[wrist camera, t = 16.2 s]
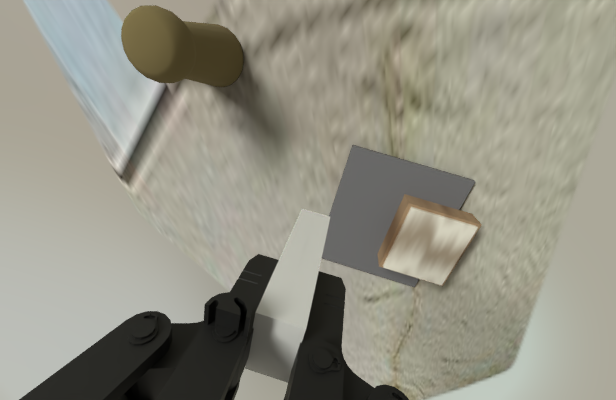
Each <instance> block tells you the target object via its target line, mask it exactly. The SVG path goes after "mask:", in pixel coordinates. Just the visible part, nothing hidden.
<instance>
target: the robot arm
mask: <svg viewBox="0 0 616 400" xmlns="http://www.w3.org/2000/svg"><path fill="white" fill-rule="evenodd" d="M329 221H330V216H326V215H323V214H319V213H316V212H312V211H309V210H305V209H301V212H300V214H299V216H298V218H297V220H296V223H295V225H294V227H293V229H292V232H291V234H290V236H289V238H288V241H287V243H286V245H285V247H284V250H283V252H282V254H281V256H280V259H279V260H277V259H273V258H270V257H267V256H263V255H260V254H258V255H257V256H255V257H254V258H252V259H251V260H249V262H248V263H247V265H246V266H245V268H244V270H243V271H242V273H241V275H240V276H239V279H238V280H237V281H236V283H235V285H234V286H233V288H232V290H231V291H230V292H228V293H221V294H218V295H216V296H214V297H212V298H211V299H210V300H209V301H208V302H207V303H206V304H205V311H204V321H201V322H198V323H189V324H187V323H186V324H185V323H184V324H182V323H180V324H179V323H175V324H174V323H171V321H170V319H169V318H168V317H167V316H166V315H165V314H163V313H160V312H157V311H154V312H153V311H150V312H149V311H148V312H143V313H140V314H136V315H135V316H133V317H131V318H129V319H128V320H126V321H125V322H123V323H122V324H121V325H119V326H118V327H117V328H115V329H114V330H113V331H111V332H110V333H108V334H107V335H106V336H104V337H103V338H102V339H100V340H99V341H98V342H96V343H95V344H94V345H92V346H91V347H90V348H88V349H87V350H86V351H84V352H83V353H82V354H80V355H79V356H77V357H76V358H75V359H73V360H72V361H71V362H70V363H68V364H67V365H65V366H64V367H63V368H61V369H60V370H59V371H57V372H56V373H55V374H53V375H52V376H51V377H49V378H48V379H46V380H45V381H44V382H43V383H41V384H40V385H38V386H37V387H36V388H34V389H33V390H32V391H30V392H29V393H28V394H26V395H25V396H24V397H22V398H21V399H20V400H234V398H235V395H236V393H237V390H238V387H239V382H240V377H241V375H242V373H243V370H244V367H245V365H246V367H245V368H246V369H249V370H252V371H255V372H258V373H261V374H264V375H267V376H270V377H273V378H276V379H279V380H282V381H285V382H288V386H287V391H286V394H285V398H284V400H409V399H408V398H407V397H406V396H405V394H404V393H402V392H401V391H399V390H398V389H396V388H395V387H392V386H389V385H380V386H376V387H375V388H374V387H372V386H371V385H369V384H368V383H366V382H365V381H364V380H362V379H361V378H359V377H358V376H357V375H356V374H355V373H353V372H352V370H351V369H350V368H349V367H348V365H347V364H346V362H345V360H344V357H343V354H342V346H341V345H342V331H343V317H344V304H345V302H344V301H345V290H346V289H345V286H344V284H343V281H342V279H341V278H339V277H336V276H333V275H329V274H326V273H323V272H319V268H320V263H321V258H322V254H323V249H324V244H325V240H326V235H327V231H328V226H329Z"/></svg>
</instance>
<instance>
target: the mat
mask: <svg viewBox="0 0 616 400" xmlns="http://www.w3.org/2000/svg"><path fill="white" fill-rule="evenodd" d="M474 183H475V181H474V180H472V179H469V178H465V177H462V176H458V175H455V174H451V173H448V172H445V171H441V170H438V169H434V168H431V167H427V166H424V165H421V164H417V163H414V162H410V161H407V160H403V159H400V158H397V157H393V156H390V155H386V154H383V153H379V152H376V151H373V150H369V149H366V148H362V147H359V146H355V145H352V148H351V151H350V154H349V157H348V160H347V163H346V166H345V169H344V172H343V176H342V179H341V182H340V185H339V188H338V191H337V194H336V197H335V200H334V203H333V206H332V209H331V212H330V215H329V216H330V221H329V226H328V231H327V235H326V240H325V244H324V249H323V254H322V258H323V259H326V260H329V261H333V262H336V263H339V264H342V265H345V266H348V267H352V268H355V269H358V270H361V271H364V272H368V273H371V274H374V275H377V276H380V277H383V278H387V279H390V280H393V281H396V282H399V283H403V284H406V285H409V286H412V287H415V286H416V284H417V282H418V280H419V279H418V278H415V277H411V276H408V275H405V274H402V273H399V272H395V271H392V270H389V269H386V268H382V267H379V263H378V255H377V254H378V252H379V249H380V247H381V245H382V243H383V241H384V238H385V236H386V234H387V232H388V230H389V227H390V225H391V223H392V221H393V219H394V216H395V214H396V212H397V210H398V208H399V205H400V203H401V201H402V199H403V197H404V194H406V195H410V196H413V197H417V198H420V199H423V200H427V201H430V202H433V203H437V204H440V205H444V206H447V207H450V208H454V209H457V210H459V209H460V207H461V206H462V204H463V202H464V201H465V199H466V197H467V195H468V194H469V192H470V190H471V188H472V187H473V185H474Z"/></svg>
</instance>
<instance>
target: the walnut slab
mask: <svg viewBox="0 0 616 400" xmlns="http://www.w3.org/2000/svg"><path fill="white" fill-rule="evenodd" d="M480 227H481V223H480V222H479V221H478V220H477V219H476V218H475V217H474V216H473V214H471V213H467V212H464V211H461V210H457V209H454V208H450V207H447V206H444V205H440V204H437V203H433V202H430V201H427V200H423V199H420V198H417V197H413V196H410V195H406V194H404V197H403V199H402V201H401V203H400V205H399V208H398V210H397V212H396V214H395V216H394V219H393V221H392V223H391V225H390V227H389V230H388V232H387V234H386V236H385V238H384V241H383V243H382V245H381V247H380V249H379V252H378V254H377V255H378V263H379V267H382V268H386V269H389V270H392V271H395V272H399V273H402V274H405V275H408V276H411V277H415V278H418V279H421V280H424V281H428V282H431V283H434V284H437V285H440V286H443V285H444V283H445V282H446V280H447V279H448V277H449V276H450V274H451V272H452V271H453V269H454V268H455V266H456V265H457V263H458V261H459V260H460V258H461V257H462V255H463V254H464V252H465V250H466V249H467V247H468V246H469V244H470V243H471V241H472V239H473V238H474V236H475V235H476V233H477V231H478V230H479V228H480Z"/></svg>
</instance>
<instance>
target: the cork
mask: <svg viewBox="0 0 616 400" xmlns="http://www.w3.org/2000/svg"><path fill="white" fill-rule="evenodd" d="M121 39H122V44H123V48H124V51H125V53H126V55H127V57H128V59H129V61H130V62H131V63H132V64H133V66H134V67H135V68H136V69H137V70H138V71H139V72H140V73H141V74H143V75H144V76H145V77H147V78H149V79H152V80H154V81H157V82H159V83H175V82H178V81H180V80H183V79H189V80H193V81H197V82H200V83H204V84H208V85H212V86H216V87H225V86H228V85H231V84H232V83H234V82H235V81H236V80H237V79H238V77H239V75H240V74H241V72H242V68H243V63H244V62H243V51H242V48H241V45H240V43H239V41H238V40H237V38H236V36H235V35H234V34H233V33H232V32H231V31H230V30H228V29H227V28H225V27H223V26H220V25H216V24H206V23H196V22H185V21H182V20H181V19H180V18H178V17H177V16H176V15H175V14H174V13H172V12H171V11H168V10H166V9H163V8H161V7H158V6H140V7H138V8H136V9H134V10H132V11H131V12H130V13H129V15H128V16H127V17H126V18H125V20H124V23H123V26H122V34H121Z"/></svg>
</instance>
